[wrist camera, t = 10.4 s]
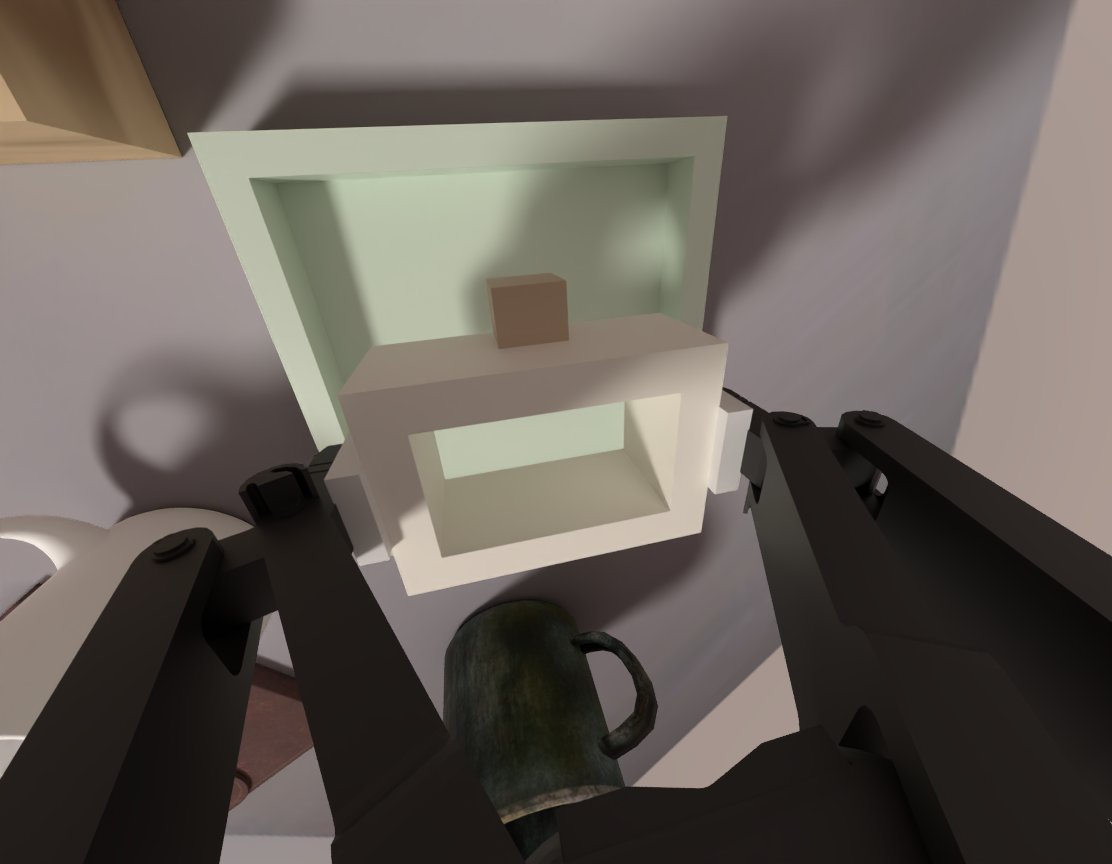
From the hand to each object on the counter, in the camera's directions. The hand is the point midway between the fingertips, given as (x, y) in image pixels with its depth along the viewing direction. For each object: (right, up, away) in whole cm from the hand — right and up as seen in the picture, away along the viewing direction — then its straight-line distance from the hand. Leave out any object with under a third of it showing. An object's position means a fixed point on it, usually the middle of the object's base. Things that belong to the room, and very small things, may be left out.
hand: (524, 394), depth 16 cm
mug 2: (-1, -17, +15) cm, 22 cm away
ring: (0, -1, -2) cm, 2 cm away
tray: (-1, +2, +4) cm, 5 cm away
